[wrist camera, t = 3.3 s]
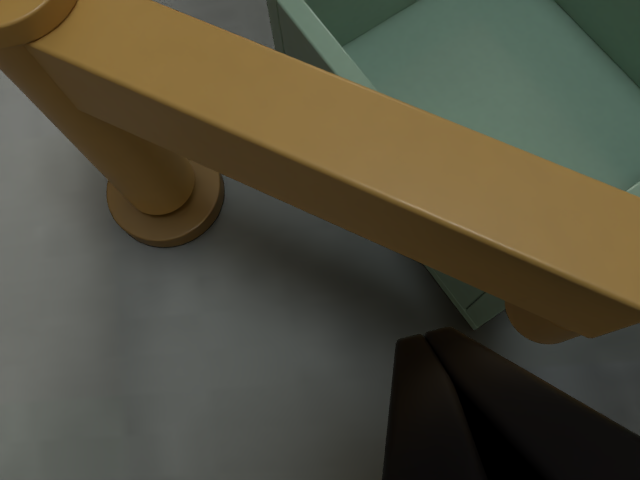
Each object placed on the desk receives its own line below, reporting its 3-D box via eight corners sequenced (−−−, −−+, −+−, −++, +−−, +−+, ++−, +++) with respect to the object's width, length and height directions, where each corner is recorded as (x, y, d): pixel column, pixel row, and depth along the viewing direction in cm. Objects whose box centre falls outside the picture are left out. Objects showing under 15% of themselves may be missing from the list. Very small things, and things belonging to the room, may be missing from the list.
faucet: (59, 177, 20) (-233, -72, 10) (100, 114, 21) (-134, -181, 11) (503, 388, 18) (727, 344, 7) (534, 308, 18) (779, 166, 8)
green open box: (715, 158, 21) (825, 81, 16) (473, 331, 19) (516, 302, 15) (501, -60, 24) (541, -179, 19) (279, 75, 22) (262, -18, 18)
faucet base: (245, 207, 21) (241, 199, 20) (147, 269, 20) (140, 263, 20) (189, 124, 22) (183, 114, 21) (94, 181, 21) (85, 172, 21)
